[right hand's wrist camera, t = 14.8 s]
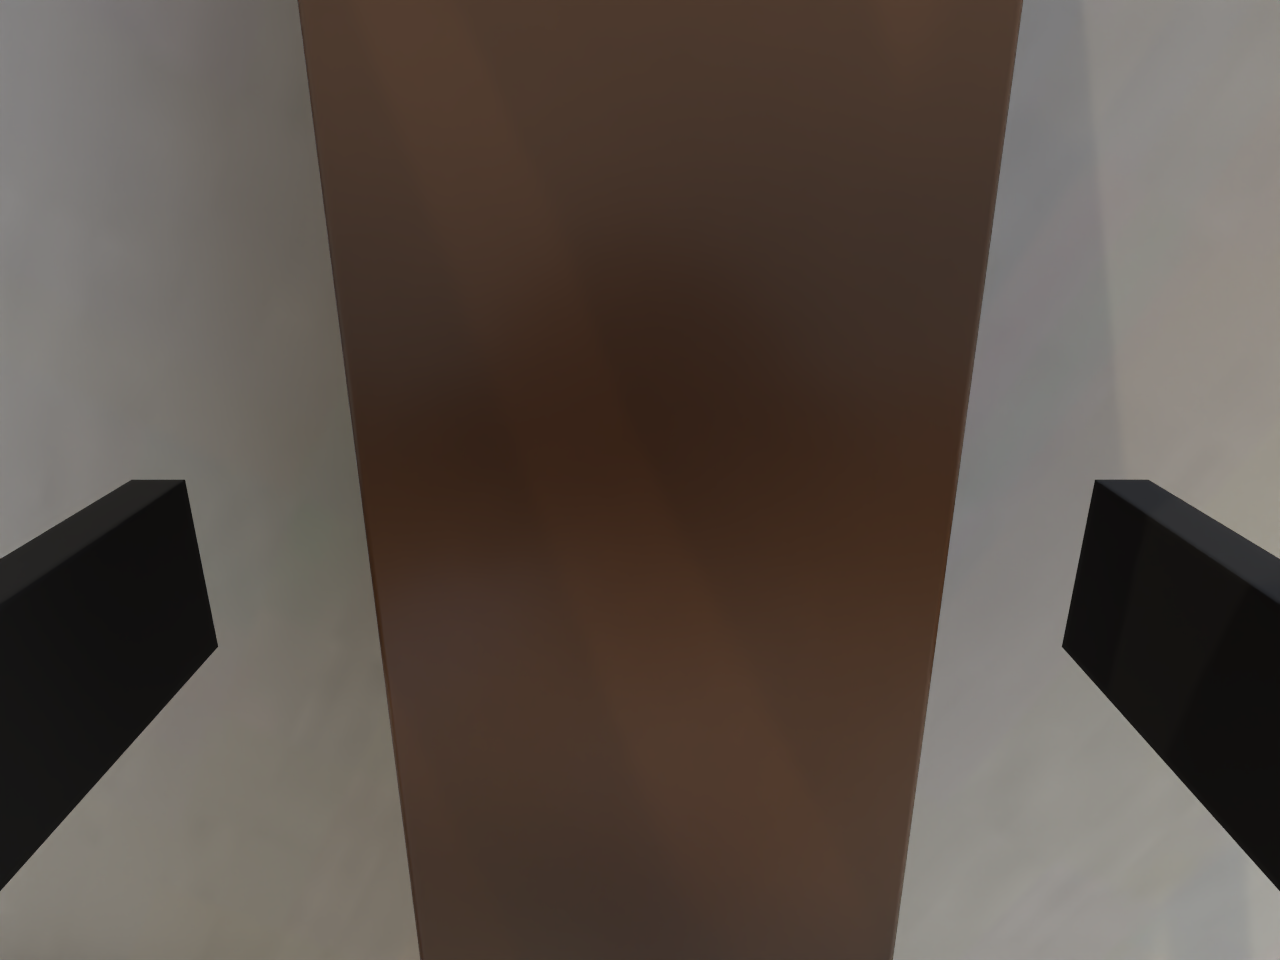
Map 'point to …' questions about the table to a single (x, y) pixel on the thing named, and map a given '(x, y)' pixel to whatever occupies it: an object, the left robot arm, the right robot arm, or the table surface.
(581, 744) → the walnut beam
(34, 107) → the table surface
